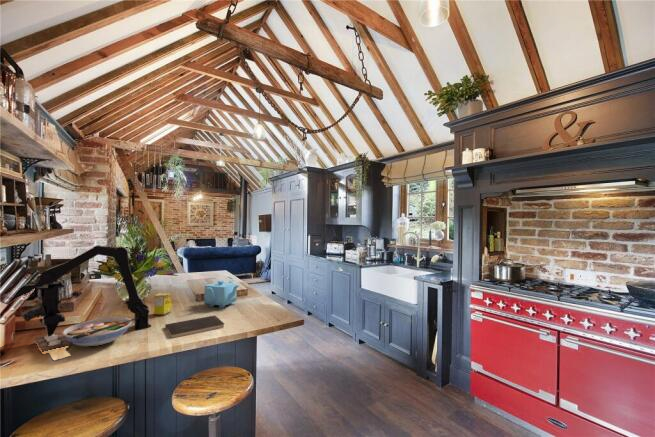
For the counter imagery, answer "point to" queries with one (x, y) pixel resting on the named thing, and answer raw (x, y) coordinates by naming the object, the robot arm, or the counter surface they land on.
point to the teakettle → (220, 293)
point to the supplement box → (162, 304)
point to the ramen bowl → (97, 331)
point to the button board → (45, 347)
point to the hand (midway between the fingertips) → (49, 336)
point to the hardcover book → (194, 326)
